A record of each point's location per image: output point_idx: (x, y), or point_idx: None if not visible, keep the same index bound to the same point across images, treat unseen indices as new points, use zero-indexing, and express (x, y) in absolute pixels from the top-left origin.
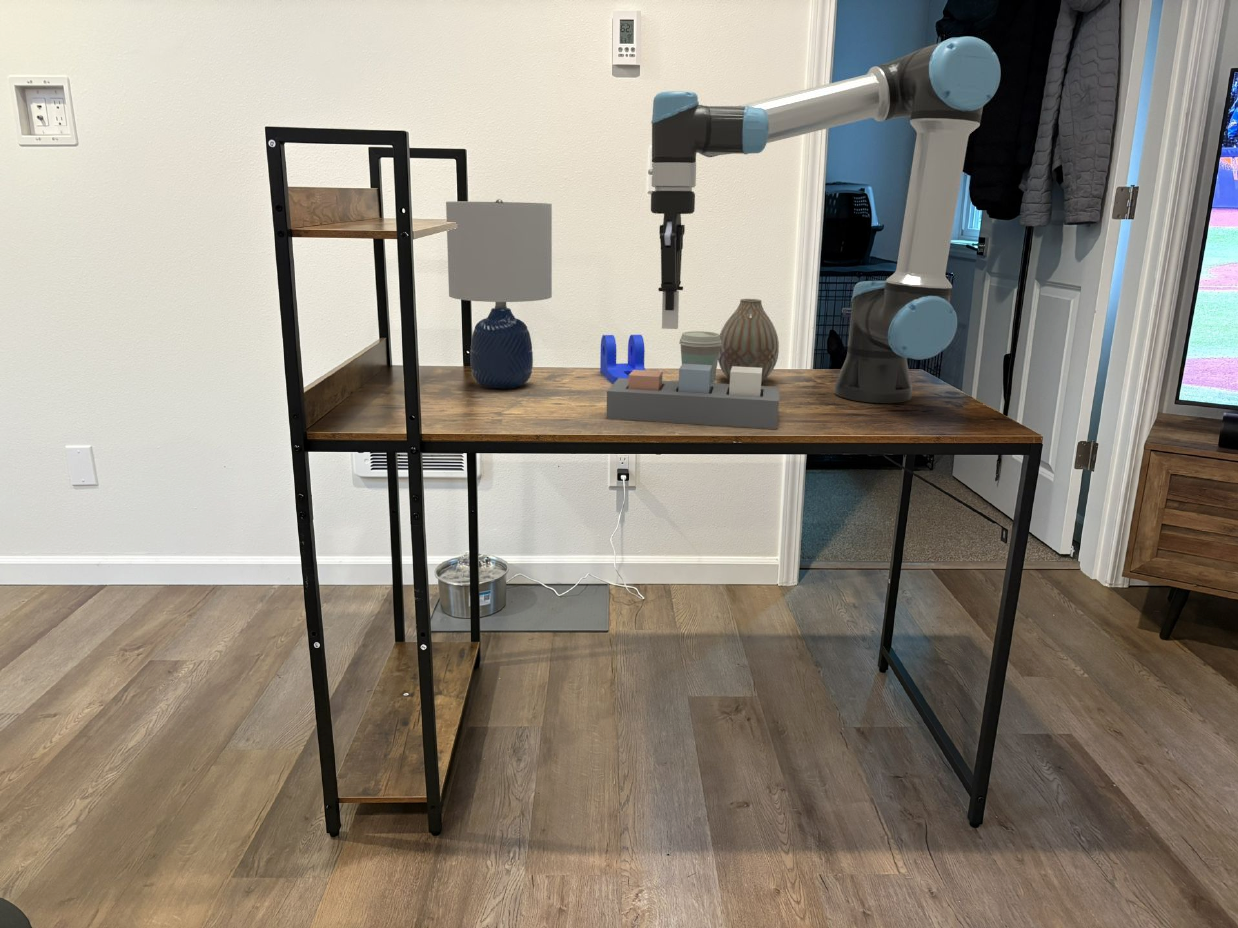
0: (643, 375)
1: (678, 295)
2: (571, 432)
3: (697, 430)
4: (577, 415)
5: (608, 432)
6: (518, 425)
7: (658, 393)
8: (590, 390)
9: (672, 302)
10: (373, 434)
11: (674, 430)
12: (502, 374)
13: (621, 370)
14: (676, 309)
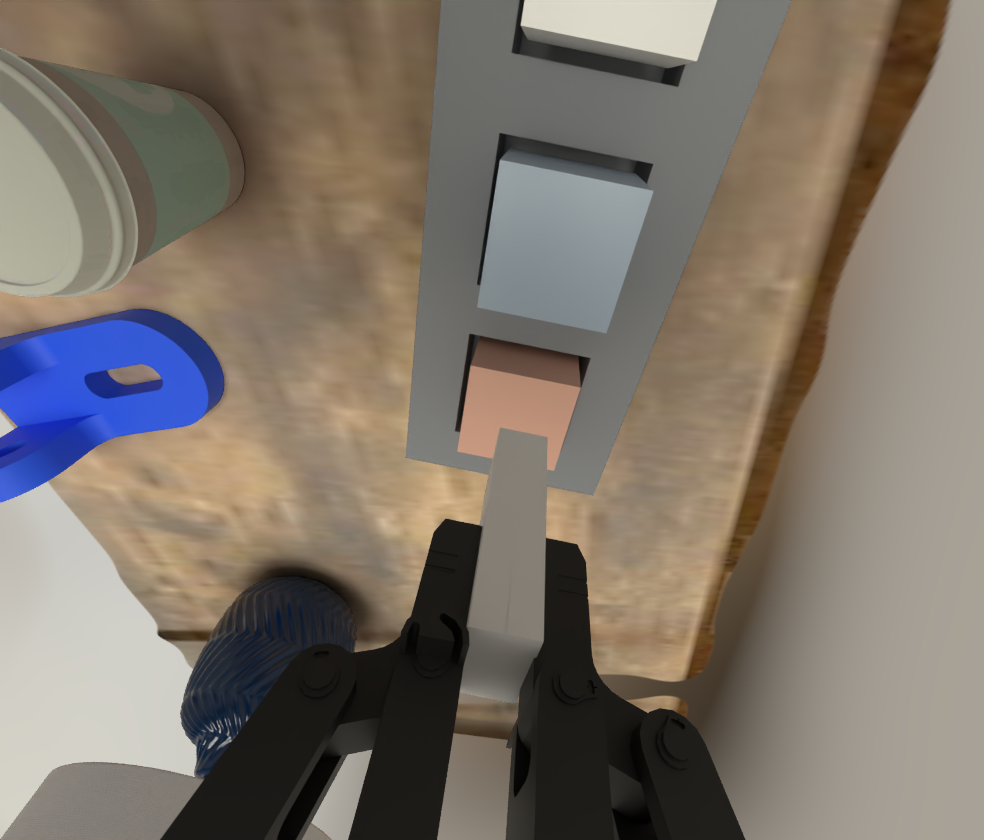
0: (557, 431)
1: (499, 599)
2: (713, 514)
3: (757, 213)
4: (554, 498)
5: (728, 449)
6: (639, 585)
7: (633, 368)
8: (286, 463)
9: (584, 597)
10: None
11: (741, 288)
12: (351, 633)
13: (92, 402)
14: (545, 527)
